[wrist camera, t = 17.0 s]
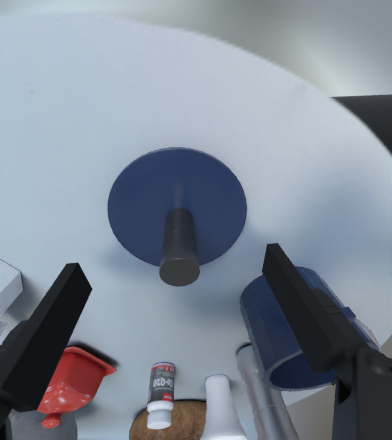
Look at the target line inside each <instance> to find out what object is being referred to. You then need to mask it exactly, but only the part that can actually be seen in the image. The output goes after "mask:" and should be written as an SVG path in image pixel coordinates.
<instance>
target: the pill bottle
mask: <svg viewBox="0 0 392 440" xmlns="http://www.w3.org/2000/svg"><path fill="white" fill-rule="evenodd" d="M173 405H174V366H173V365H172V364H170V363H158V364H155V365H154V366H153V367H152V369H151V376H150V386H149V394H148V403H147V410H148V412H149V413H150V414H149V415H148V421H147V427H148V428H150V429H163V428H167V427H169V426H170V425H171V413H170V411H171V410H172V409H173Z"/></svg>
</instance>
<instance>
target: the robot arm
mask: <svg viewBox="0 0 392 440" xmlns="http://www.w3.org/2000/svg"><path fill="white" fill-rule="evenodd" d="M262 272H263V274H264V276H265V278H266V280H267V282H268V284H269V286H270V288H271V290H272V292H273V294H274V296H275V298H276V300H277V302H278V304H279V306H280V308H281V310H282V312H283V314H284V316H285V318H286V320H287V322H288V324H289V326H290V328H291V330H292V332H293V334H294V336H295V338H296V340H297V342H298V344H299V346H300V348H301V350H302V352H303V354H304V356H305V358H306V360H307V362H308V364H309V366H310V368H311V369H312V371H313V373H314V374H319V373H327V372H330V370H331V369H332V368H334V369H335V371H336V373H337V375H336V376H335V378H334V379H333V380H332V383H331V385H333V386H334V385H335V384H336V389H335V390H336V391H335V403H334V417H333V431H332V440H392V359H390V358H387V357H386V356H385V355H384V354H382V353H381V352H379V351H378V350H376V349H373V348H371V347H370V346H369V345H368V344H367V343H366V342H365V341H364V339H363V338H362V337H361V335H360V334H359V333H358V332H357V330H356V329H355V328H354V327H353V325H352V324H351V323H350V322H349V320H348V319H347V318H346V316H345V315H344V314H343V313H342V311H341V310H340V309H339V308H338V306H336V304H335V302H334V301H333V300H332V299H331V297H330V296H329V295H328V294H327V293H325V292H324V291H323V290H321V289H320V288H314V289H310V287H309V286H308V285H307V283H306V282H305V280H304V279H303V278H302V276H301V275H300V273H299V272H298V271H297V269H296V268H295V266H294V265H293V264H292V262H291V261H290V260H289V258H288V257H287V255H286V254H285V253H284V251H283V250H282V248H281V247H280V246H279V244H278V243H275V244H267V248H266V253H265V259H264V264H263V269H262ZM91 291H92V288H91V286H90V284H89V282H88V280H87V278H86V276H85V274H84V273H83V271H82V269H81V267H80V265H79V263H70V264H66V266H65V267H64V268H63V270H62V271H61V273H60V274H59V276H58V277H57V279H56V280H55V282H54V283H53V285H52V286H51V287H50V289H49V290H48V292H47V293H46V295H45V296H44V298H43V299H42V301H41V302H40V303H39V305H38V306H37V308H36V309H35V311H34V312H33V314H32V315H31V317H30V318H29V320H27V321H21V322H20V323H19V324H18V325H17V326H16V327H15V328H14V329H13V330H11V331H10V333H9V334H8V336H7V337H6V338H5V340H4V341H3V342H2V343H3V344H2V345H0V440H13V438H12V428H11V420H10V418H9V417H8V416H9V414H10V412H11V410H12V409H14V410H16V411H18V412H20V413H21V412H28V411H36V410H38V407H39V405H40V403H41V401H42V399H43V396H44V394H45V392H46V390H47V388H48V385H49V383H50V381H51V379H52V377H53V374H54V372H55V370H56V368H57V366H58V363H59V361H60V359H61V357H62V355H63V352H64V350H65V348H66V346H67V344H68V341H69V339H70V337H71V335H72V333H73V330H74V328H75V326H76V324H77V322H78V319H79V317H80V315H81V313H82V311H83V308H84V306H85V304H86V302H87V300H88V297H89V295H90V293H91Z"/></svg>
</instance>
